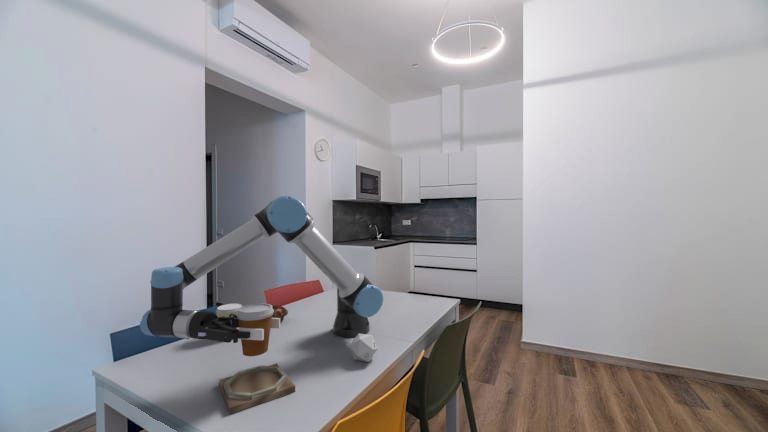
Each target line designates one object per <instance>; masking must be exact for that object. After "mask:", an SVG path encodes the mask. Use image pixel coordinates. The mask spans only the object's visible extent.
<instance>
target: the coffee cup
mask: <svg viewBox="0 0 768 432" xmlns="http://www.w3.org/2000/svg"><path fill="white" fill-rule="evenodd" d="M243 306H244V305H242V304H241V303H228V304H227V303H226V304H221V305H220V306H217V308H216V310H215V311H216V315H217V317H222V316H225V317H229V315H230V314H237V313H238V310H239V308H241V307H243ZM231 327H232V324H231ZM239 328H240V327H238V328H236V329H238V331H239ZM225 338H226V337H225Z"/></svg>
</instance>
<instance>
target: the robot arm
mask: <svg viewBox="0 0 768 432" xmlns="http://www.w3.org/2000/svg"><path fill="white" fill-rule="evenodd" d="M277 233H278V234H279V235H280V236H281V237H282V238H283V239H284V241H286V242H287V243H289V244H295V245H296V246H297V247H298V248H299V249H300V250H301V251H302V252H303V253H304V254H305V256H306V257H308V258H309V260H311V262H312V263H314V265H315V266H316V267H317V268H318V270H320V271H321V272H322V273H323V274H324V275H325V276H326V277H327V278H328V279H329V281H331V282H332V283H333V285H334V286H335V287H336V291H337V292H336V298H337V299H336V301H337V302H336V307H337V309H336V310H337V312H336V316H335V318H334V322H333V325H332V331H333V332H332V333H333V334H334V335H336V336H339V337H345V338H346V337H347V338H351V337H352V338H355V337H356V336H357V335H358V333H360V334H367V333H369V332H370V330H371V329H370V327H371V326H370V325H371V324H370V321H369V318H370V317H374V316H375V315H377V313H378V312H380V310H381V309H382V306H383V304H384V295H383V294H384V293H383V291H382V290H381V288H379V287H378V286H377V285H374V284H373V283H372V282H371V281H370V280H369V279H368V278H367V277H366V275H365V274H364V273H362V272H356V271H355V269H354V268H353V267H352V266H351V265H350V264H349V262H348V261H346V260H345V258H344V257H343V256H342V255H341V254H340V253H339V252H338V251H337V249H336V248H334V247H333V245H332V244H331V243H330V242H329V240H327V239H326V238H325V237H324V235H323V234H322V233H321V232H320V231H319V230H318V229H317V228H316V227H315V219H314V218H313V217H312V216H311V215H310V214H309V212H308V211H307V208H306V206H305V205H304V203H303V202H302V201H301V200H299V199H298V198H297V197H293V196H290V195H283V196H279V197H277V198H275V199H273V200H272V201H271V202H269V203H268V204H266V206H264V207H263V209H261V210H260V211H258V212H257V213H255V214H254V215H253V216H252V217H251V220H249V221H248V222H246V223H244V224H242V225H240V226H239V227H238V228H236V229H234V230H233V231H231V232H230V233H228V234H225V236H224V235H223V237H221V238H219V239H218V240H215V241H214V242H213V243H211V244H209V245H208V246H206V247H205V248H203V249H201V250H200V251H198V252H196V253H195V254H193V255H191V256H190V257H188V258H185V260H184V261H181V262H180V263H179V264H177V265H174V266H166V267H158V268H155V269H153V270H152V272H151V278H150V309H148V311H146V312H145V313H143V315H142V318H141V320H140V322H139V328H140V330H141V332H142V333H143V334H144V335H146V336H153V337H156V338H182V339H186V340H190V339H194V340H210V341H216V342H221V343H228V344H229V343H231V342H232V343H233V344H236V343H238V342H239V340H241V339H246V340H264V329H256V328H239V331H238V329H236V328H238V327H239V319H238V318H237V314H230V315H229V317H225V316H222V317H217V313H215V311H211V310H198V309H183V304H184V302H183V300H184V299H183V295H184V289H185V288H187V287H188V286H190V285H192V284H193V283H194V282H196V281H197V280H198V279H200V278H202V277H203V276H205V275H207V274H208V273H210V272H211V271H213V270H215V269H216V268H218V267H220V266H221V265H222V264H224V263H225V262H228V261H229V260H230V259H232V258H233V257H236V255H238V254H240V253H242V252H243V251H244V250H246V249H248V248H249V247H250V246H253V245H254V244H256V243H257V242H259V241H260V240H262V239H263V238H270V237H271V236H273V235H275V234H277ZM231 324H232V327H231ZM270 329H281V323H280V318H272V320H271V328H270ZM225 337H226V338H225Z"/></svg>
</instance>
